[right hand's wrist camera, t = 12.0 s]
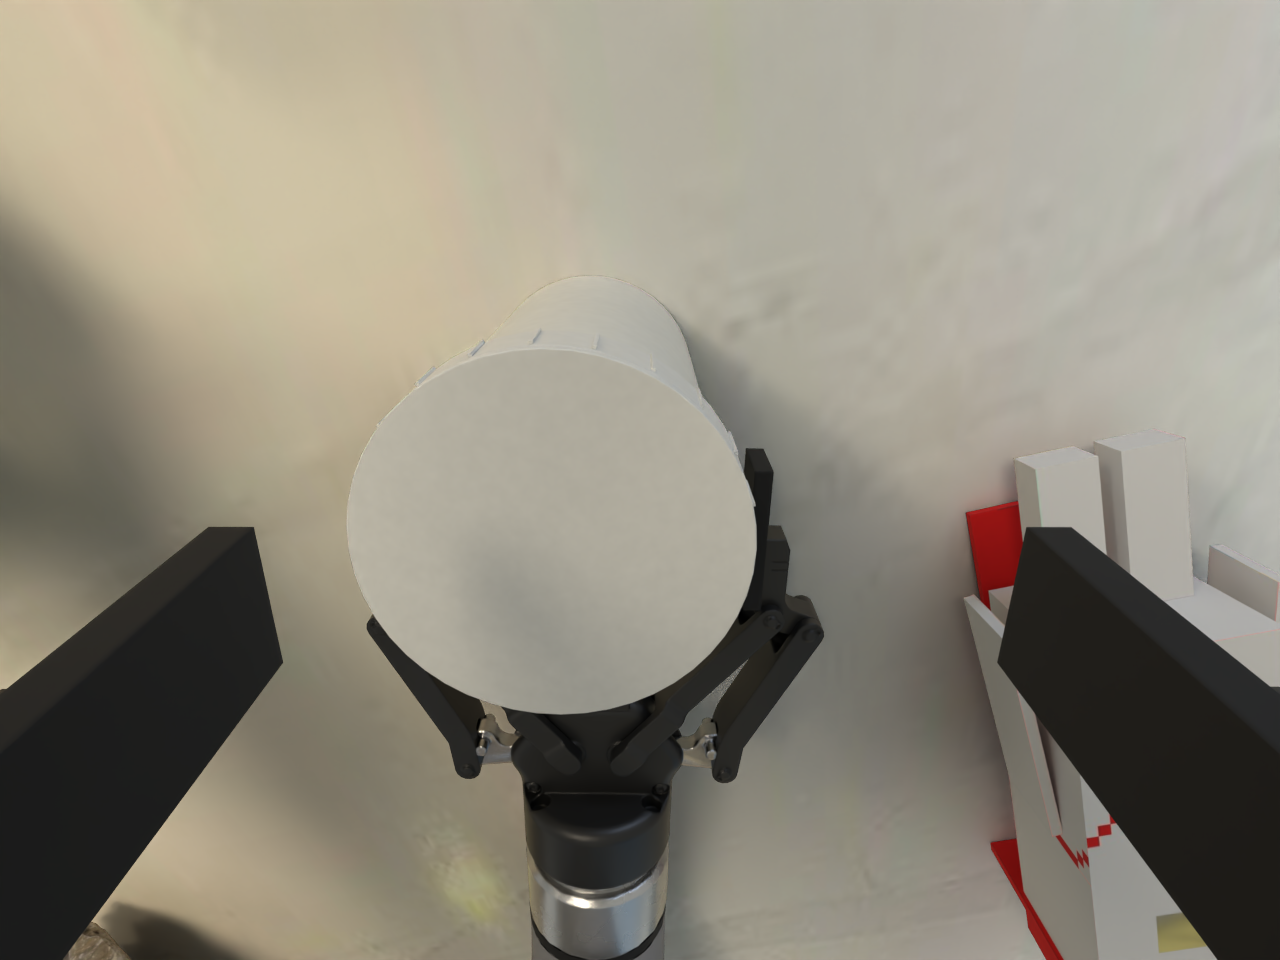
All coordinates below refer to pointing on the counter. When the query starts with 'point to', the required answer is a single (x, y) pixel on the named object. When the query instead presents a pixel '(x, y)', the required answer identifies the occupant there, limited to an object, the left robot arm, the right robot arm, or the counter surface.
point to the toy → (1037, 767)
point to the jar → (605, 318)
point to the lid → (553, 523)
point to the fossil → (95, 946)
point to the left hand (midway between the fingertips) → (596, 455)
